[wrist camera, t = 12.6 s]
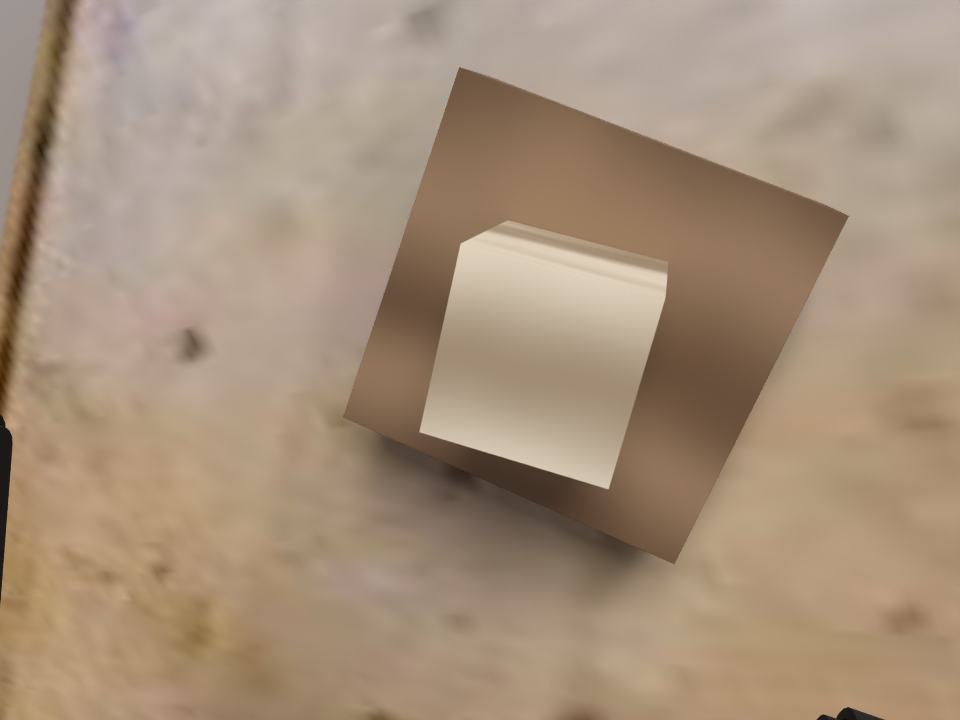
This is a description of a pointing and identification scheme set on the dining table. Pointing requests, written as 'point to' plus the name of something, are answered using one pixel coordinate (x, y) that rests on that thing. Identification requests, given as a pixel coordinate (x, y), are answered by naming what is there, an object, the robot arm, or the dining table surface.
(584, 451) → the maple cube
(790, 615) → the dining table surface
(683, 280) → the walnut block
